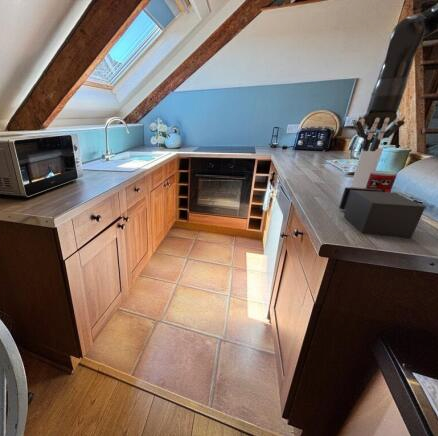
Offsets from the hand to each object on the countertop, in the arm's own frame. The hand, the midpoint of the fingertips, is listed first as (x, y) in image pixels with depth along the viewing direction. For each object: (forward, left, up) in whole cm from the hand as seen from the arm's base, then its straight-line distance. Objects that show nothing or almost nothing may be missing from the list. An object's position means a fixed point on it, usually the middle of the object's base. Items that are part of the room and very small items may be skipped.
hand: (368, 150), depth 84 cm
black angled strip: (0, +8, -20) cm, 22 cm away
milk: (-16, -35, -21) cm, 44 cm away
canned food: (-14, -16, -21) cm, 30 cm away
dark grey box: (0, +18, -21) cm, 28 cm away
